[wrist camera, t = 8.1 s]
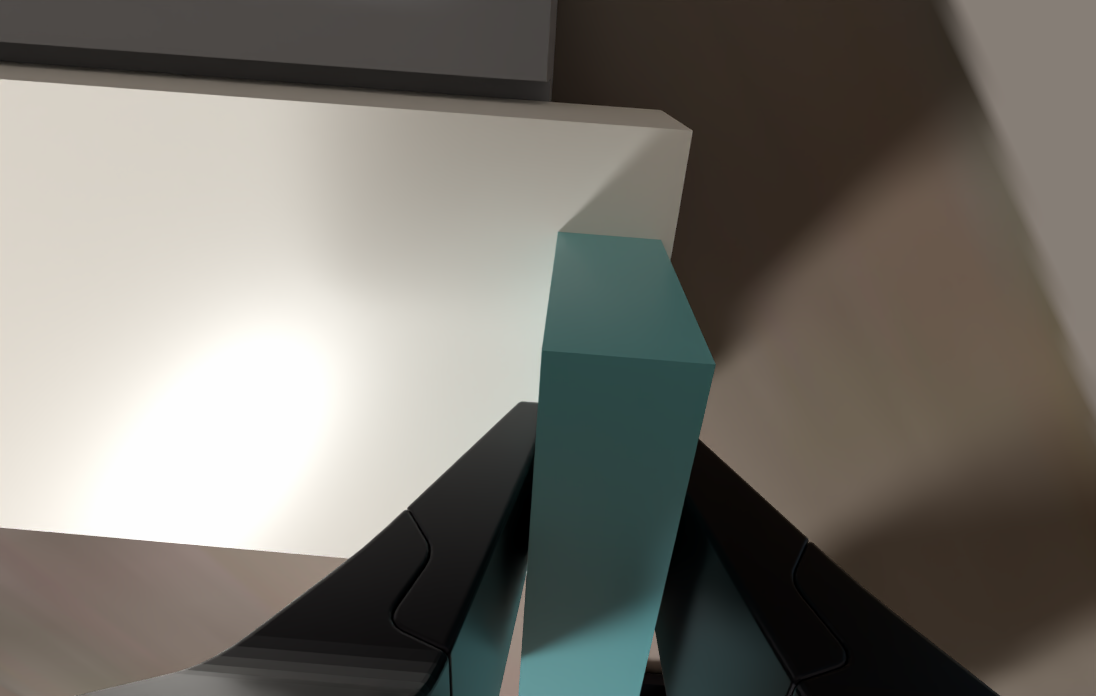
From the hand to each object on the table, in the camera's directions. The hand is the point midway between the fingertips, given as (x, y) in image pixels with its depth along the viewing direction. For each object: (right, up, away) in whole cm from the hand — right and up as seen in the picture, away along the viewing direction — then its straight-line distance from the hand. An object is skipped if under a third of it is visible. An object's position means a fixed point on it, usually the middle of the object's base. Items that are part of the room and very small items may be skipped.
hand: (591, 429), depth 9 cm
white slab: (-7, +3, +4) cm, 8 cm away
